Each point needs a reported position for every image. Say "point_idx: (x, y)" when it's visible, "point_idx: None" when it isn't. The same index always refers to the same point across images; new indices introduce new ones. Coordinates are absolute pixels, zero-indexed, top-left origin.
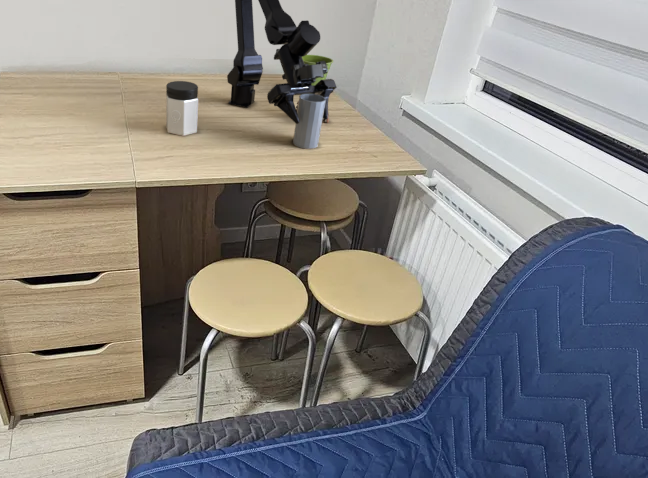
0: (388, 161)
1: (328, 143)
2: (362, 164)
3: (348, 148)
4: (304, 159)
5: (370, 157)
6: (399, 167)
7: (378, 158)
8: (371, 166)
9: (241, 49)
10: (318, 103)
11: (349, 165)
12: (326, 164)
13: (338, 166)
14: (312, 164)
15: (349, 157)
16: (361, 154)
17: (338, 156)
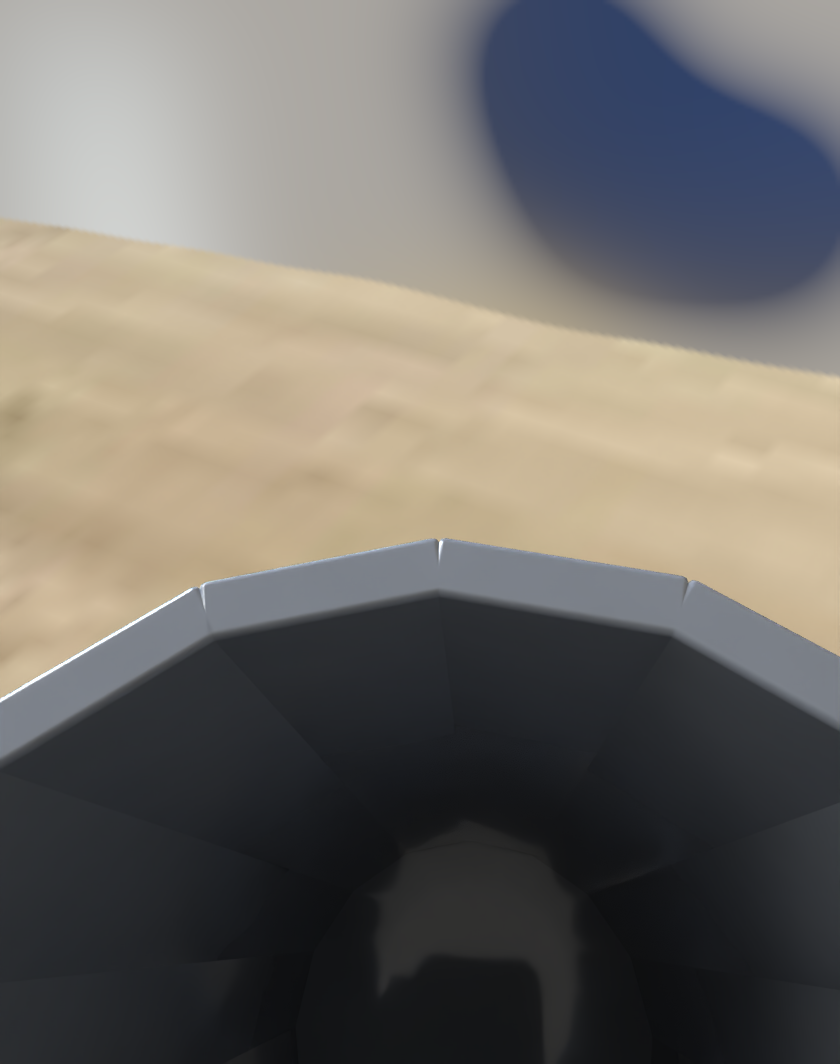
0: (8, 316)
1: None
2: (264, 341)
3: (63, 657)
4: (764, 608)
5: (68, 417)
6: (41, 226)
7: (24, 380)
8: (226, 295)
9: None
10: (561, 582)
11: (391, 361)
12: (591, 440)
13: (504, 377)
14: (737, 485)
15: (252, 481)
16: (81, 492)
17: (339, 536)
